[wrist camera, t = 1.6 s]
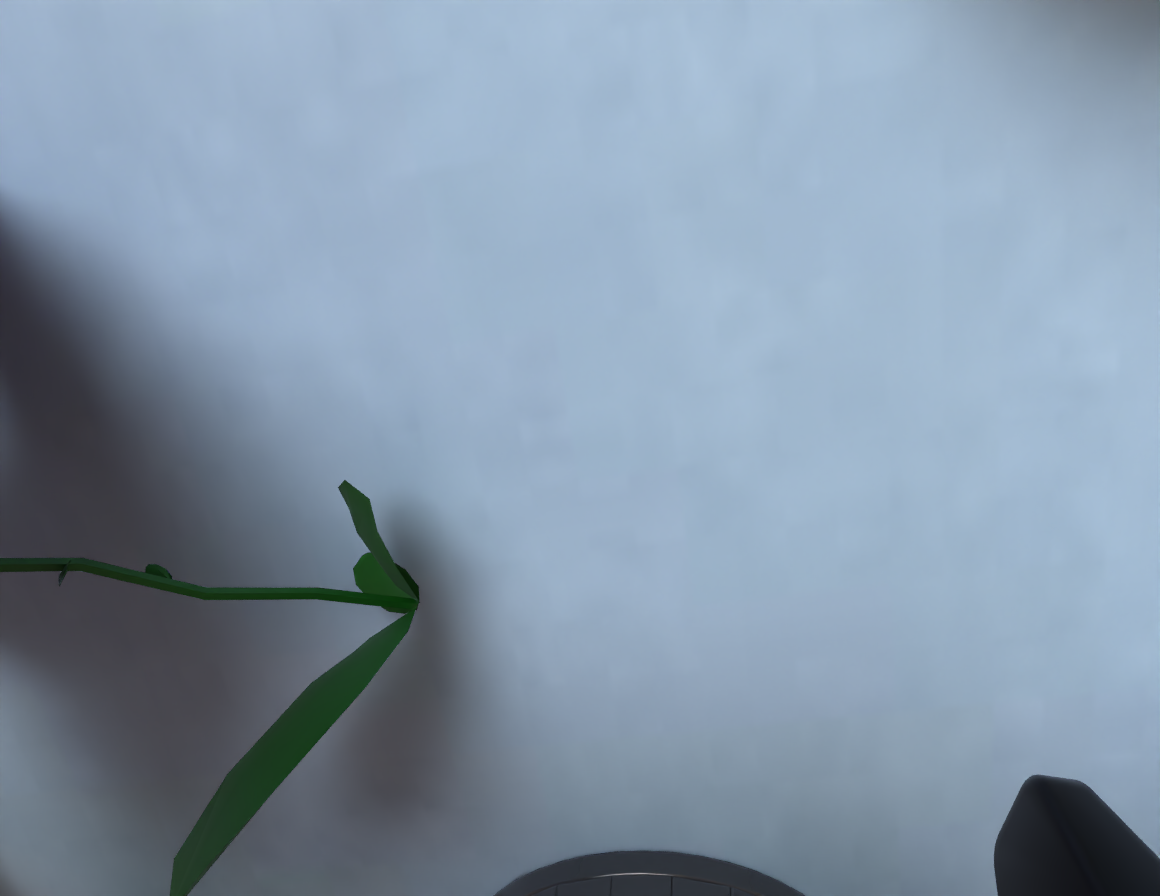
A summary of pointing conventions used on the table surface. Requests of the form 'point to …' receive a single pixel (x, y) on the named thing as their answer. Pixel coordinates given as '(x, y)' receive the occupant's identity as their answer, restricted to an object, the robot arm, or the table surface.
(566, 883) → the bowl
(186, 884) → the flower
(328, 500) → the table surface
